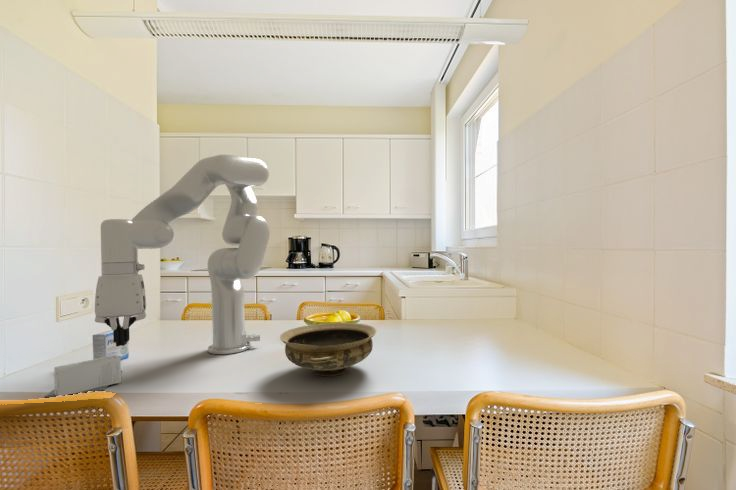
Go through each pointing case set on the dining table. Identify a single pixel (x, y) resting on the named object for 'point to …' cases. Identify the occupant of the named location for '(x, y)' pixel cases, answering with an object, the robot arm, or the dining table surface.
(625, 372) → the dining table surface
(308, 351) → the ceramic bowl
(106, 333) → the medicine box
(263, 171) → the robot arm
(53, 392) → the mat
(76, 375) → the skincare box
